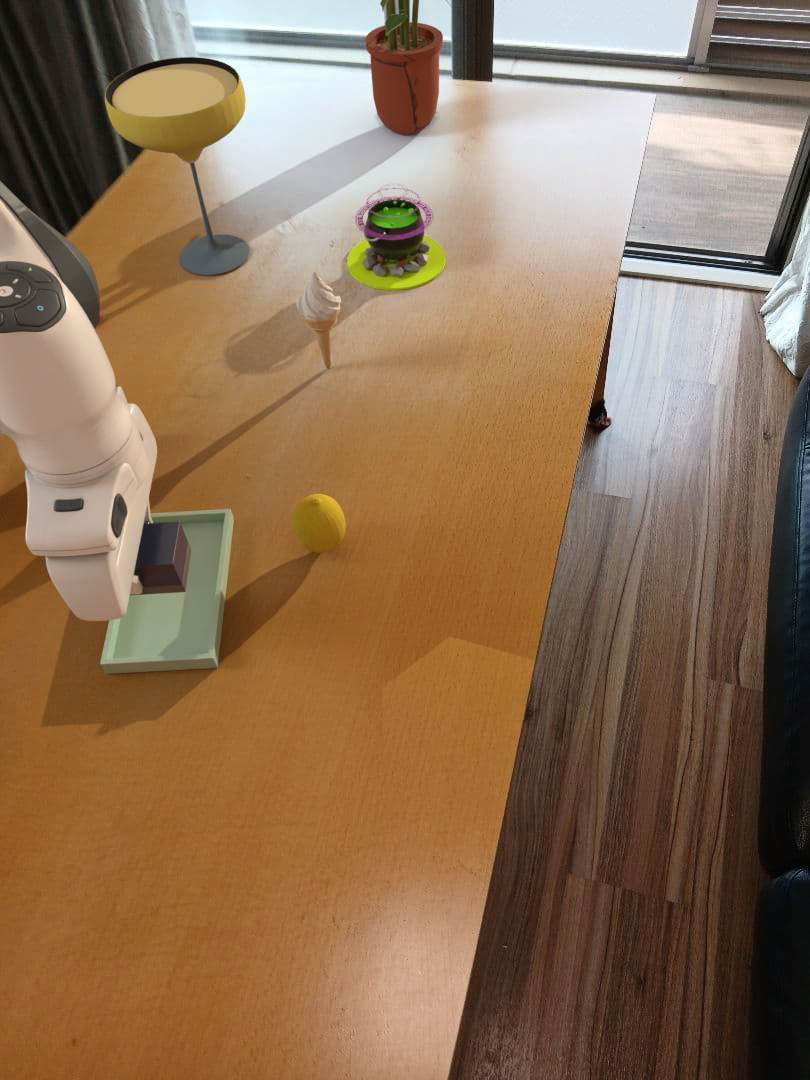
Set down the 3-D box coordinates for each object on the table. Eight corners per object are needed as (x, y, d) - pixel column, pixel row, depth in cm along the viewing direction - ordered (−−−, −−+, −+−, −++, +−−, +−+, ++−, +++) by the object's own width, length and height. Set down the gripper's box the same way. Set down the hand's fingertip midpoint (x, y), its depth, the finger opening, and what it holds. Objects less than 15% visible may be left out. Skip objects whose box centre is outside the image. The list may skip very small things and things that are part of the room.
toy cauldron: (367, 226, 129) (362, 158, 121) (458, 241, 126) (459, 172, 117) (331, 280, 121) (323, 211, 112) (427, 298, 118) (426, 228, 109)
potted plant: (366, 114, 153) (349, -119, 125) (447, 104, 154) (448, -129, 126) (381, 160, 142) (366, -84, 114) (468, 149, 143) (474, -95, 116)
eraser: (100, 597, 76) (83, 569, 73) (110, 555, 80) (94, 526, 76) (185, 592, 76) (172, 564, 73) (191, 550, 80) (179, 521, 76)
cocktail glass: (147, 293, 121) (89, 121, 101) (165, 226, 132) (116, 59, 112) (269, 287, 120) (235, 114, 101) (276, 220, 132) (247, 52, 112)
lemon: (289, 545, 91) (278, 498, 84) (329, 519, 93) (321, 471, 87) (318, 575, 88) (309, 529, 82) (358, 548, 90) (352, 501, 84)
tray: (106, 674, 82) (99, 664, 80) (136, 525, 93) (131, 514, 92) (217, 668, 82) (213, 658, 80) (234, 519, 93) (230, 508, 92)
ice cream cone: (356, 361, 110) (345, 263, 98) (336, 387, 107) (323, 289, 95) (319, 350, 111) (305, 253, 99) (299, 376, 108) (282, 278, 96)
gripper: (76, 375, 72) (125, 480, 83) (18, 562, 59) (85, 656, 70) (147, 370, 72) (187, 476, 83) (105, 556, 59) (158, 652, 70)
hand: (140, 560), depth 76 cm, fingers closed on eraser, 5 cm apart
